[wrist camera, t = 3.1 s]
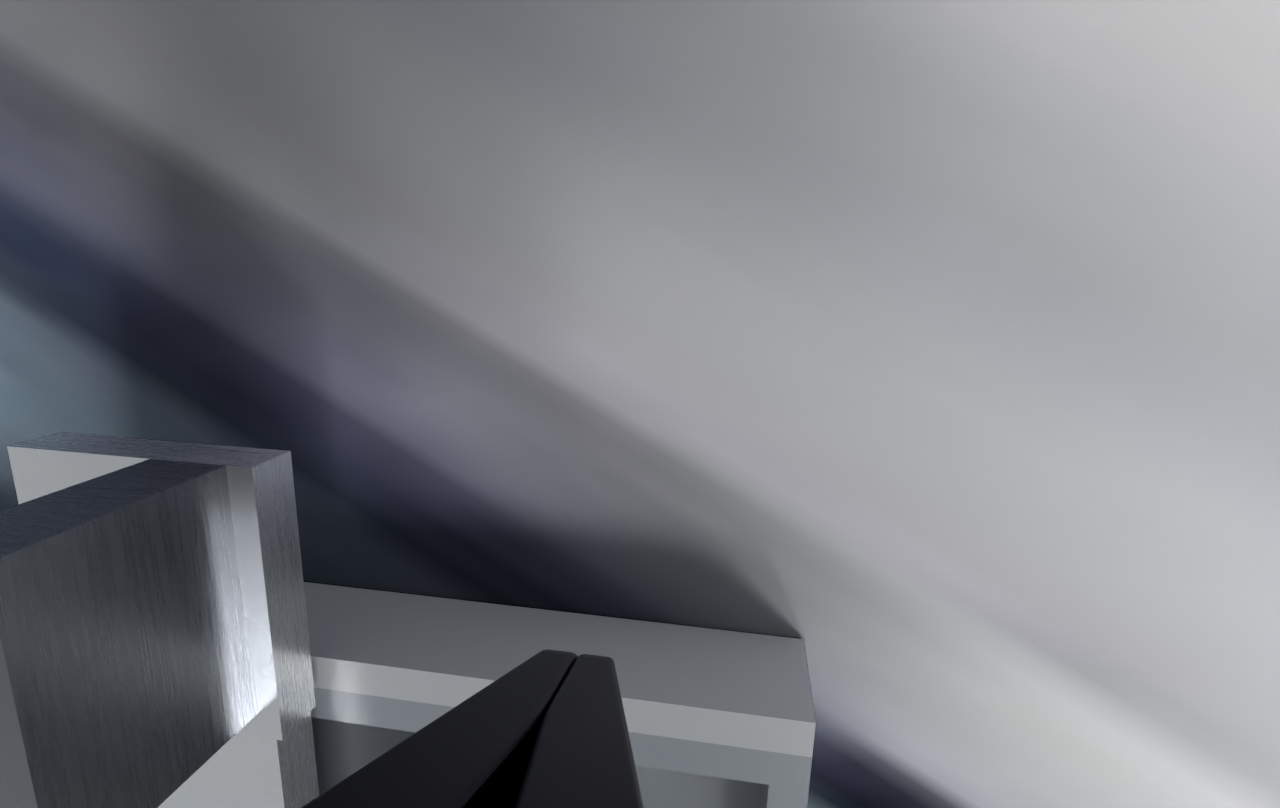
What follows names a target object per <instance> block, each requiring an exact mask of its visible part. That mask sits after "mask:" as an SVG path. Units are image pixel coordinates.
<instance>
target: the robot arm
mask: <svg viewBox="0 0 1280 808" xmlns="http://www.w3.org/2000/svg"><path fill="white" fill-rule="evenodd" d="M301 808H644V805H643V800H642V795H641V790H640V786H639V781H638V776H637V771H636V766H635V761H634V756H633V752H632V747H631V742H630V737H629V732H628V727H627V722H626V717H625V713H624V708H623V703H622V698H621V693H620V688H619V683H618V679H617V674H616V669H615V664H614V661H613V659H612V658H611V657H607V656H598V655H590V654H581V655H579V656H578V657H577V655H576V654H575V653H573V652H566V651H558V650H550V649H545V650H542V651H540V652H539V653H537V654H536V655H534V656H532V657H531V658H529V659H528V660H526V661H525V662H523V663H522V664H520V665H519V666H517V667H516V668H514V669H513V670H511V671H509V672H508V673H506V674H505V675H503V676H502V677H500V678H499V679H497V680H496V681H494V682H493V683H491V684H489V685H488V686H486V687H485V688H483V689H482V690H480V691H479V692H477V693H476V694H474V695H473V696H471V697H470V698H468V699H466V700H465V701H463V702H462V703H460V704H459V705H457V706H456V707H454V708H453V709H451V710H450V711H448V712H447V713H445V714H443V715H442V716H440V717H439V718H437V719H436V720H434V721H433V722H431V723H430V724H428V725H427V726H425V727H424V728H422V729H420V730H419V731H417V732H416V733H414V734H413V735H411V736H410V737H408V738H407V739H405V740H404V741H402V742H400V743H399V744H397V745H396V746H394V747H393V748H391V749H390V750H388V751H387V752H385V753H384V754H382V755H381V756H379V757H377V758H376V759H374V760H373V761H371V762H370V763H368V764H367V765H365V766H364V767H362V768H361V769H359V770H358V771H356V772H354V773H353V774H351V775H350V776H348V777H347V778H345V779H344V780H342V781H341V782H339V783H338V784H336V785H334V786H333V787H331V788H330V789H328V790H327V791H325V792H324V793H322V794H321V795H319V796H318V797H316V798H315V799H313V800H311V801H310V802H308V803H307V804H305V805H304V806H302V807H301Z"/></svg>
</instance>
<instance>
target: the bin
mask: <svg viewBox="0 0 1280 808" xmlns="http://www.w3.org/2000/svg"><path fill="white" fill-rule="evenodd" d="M304 592H305V602H306V613H307V623H308V633H309V643H310V653H311V664H312V674H313V684H314V694H315V704H316V706H315V707H314V708H313V709H312V710H311V719H312V729H313V739H314V749H315V759H316V769H317V779H318V789H319V795H321V794H322V793H324V792H325V791H327V790H328V789H330V788H331V787H333V786H334V785H336V784H338V783H339V782H341V781H342V780H344V779H345V778H347V777H348V776H350V775H351V774H353V773H354V772H356V771H358V770H359V769H361V768H362V767H364V766H365V765H367V764H368V763H370V762H371V761H373V760H374V759H376V758H377V757H379V756H381V755H382V754H384V753H385V752H387V751H388V750H390V749H391V748H393V747H394V746H396V745H397V744H399V743H400V742H402V741H404V740H405V739H407V738H408V737H410V736H411V735H413V734H414V733H416V732H417V731H419V730H420V729H422V728H424V727H425V726H427V725H428V724H430V723H431V722H433V721H434V720H436V719H437V718H439V717H440V716H442V715H443V714H445V713H447V712H448V711H450V710H451V709H453V708H454V707H456V706H457V705H459V704H460V703H462V702H463V701H465V700H466V699H468V698H470V697H471V696H473V695H474V694H476V693H477V692H479V691H480V690H482V689H483V688H485V687H486V686H488V685H489V684H491V683H493V682H494V681H496V680H497V679H499V678H500V677H502V676H503V675H505V674H506V673H508V672H509V671H511V670H513V669H514V668H516V667H517V666H519V665H520V664H522V663H523V662H525V661H526V660H528V659H529V658H531V657H532V656H534V655H536V654H537V653H539V652H540V651H542V650H545V649H550V650H558V651H566V652H573V653H575V654H576V655H577V657H578V656H579V655H581V654H590V655H598V656H607V657H611V658H612V659H613V661H614V664H615V669H616V674H617V679H618V683H619V688H620V693H621V698H622V703H623V708H624V713H625V717H626V722H627V727H628V732H629V737H630V742H631V747H632V752H633V756H634V761H635V766H636V771H637V776H638V781H639V786H640V790H641V795H642V800H643V805H644V808H807V803H808V793H809V784H810V774H811V765H812V755H813V745H814V736H815V726H816V721H815V714H814V707H813V699H812V692H811V685H810V678H809V671H808V664H807V657H806V650H805V642H804V639H796V638H788V637H779V636H770V635H761V634H753V633H744V632H735V631H727V630H718V629H709V628H700V627H692V626H683V625H674V624H666V623H657V622H648V621H640V620H631V619H622V618H613V617H605V616H596V615H587V614H579V613H570V612H561V611H552V610H544V609H535V608H526V607H518V606H509V605H500V604H491V603H483V602H474V601H465V600H457V599H448V598H439V597H430V596H422V595H413V594H404V593H396V592H387V591H378V590H370V589H361V588H352V587H343V586H335V585H326V584H317V583H309V582H304Z"/></svg>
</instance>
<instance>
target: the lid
mask: <svg viewBox="0 0 1280 808" xmlns="http://www.w3.org/2000/svg"><path fill="white" fill-rule="evenodd" d="M7 449H8V454H9V459H10V464H11V469H12V474H13V479H14V484H15V489H16V494H17V499H18V504H19V505H16V506H13V507H10V508H7V509H4V510H1V511H0V808H301V807H302V806H304V805H305V804H307V803H308V802H310V801H311V800H313V799H315V798H316V797H318V796H319V789H318V779H317V769H316V759H315V749H314V739H313V729H312V719H311V710H312V709H313V708H314V707H315V706H316V704H315V694H314V684H313V674H312V664H311V653H310V643H309V633H308V623H307V613H306V602H305V592H304V582H303V572H302V562H301V551H300V541H299V531H298V521H297V511H296V500H295V490H294V480H293V470H292V460H291V451H286V450H274V449H262V448H250V447H238V446H226V445H214V444H201V443H189V442H177V441H165V440H153V439H141V438H129V437H117V436H104V435H92V434H80V433H68V432H60V433H56V434H52V435H48V436H44V437H41V438H37V439H33V440H29V441H25V442H22V443H18V444H14V445H10V446H7Z"/></svg>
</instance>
